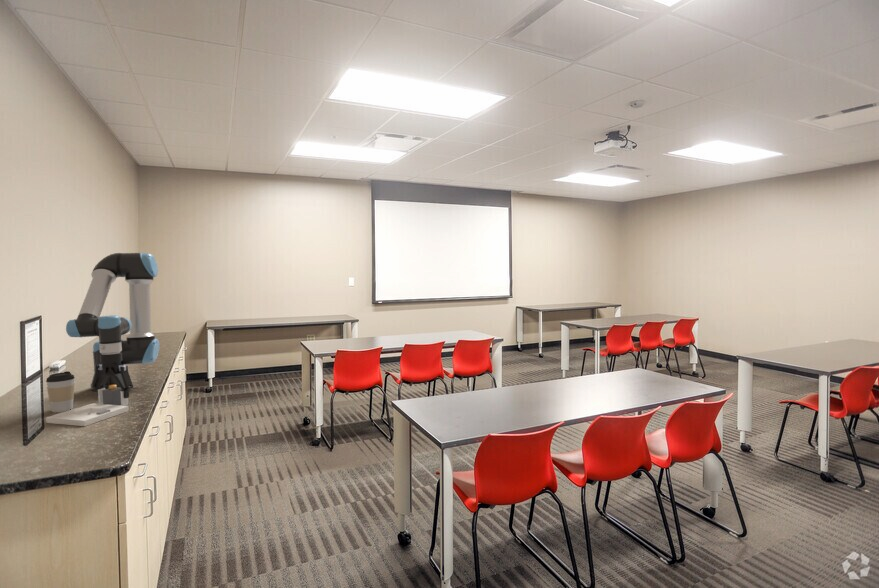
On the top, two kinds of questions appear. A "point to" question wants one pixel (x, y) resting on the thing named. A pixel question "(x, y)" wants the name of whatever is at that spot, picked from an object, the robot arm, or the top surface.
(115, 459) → the top surface
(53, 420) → the socket plate
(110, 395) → the plug
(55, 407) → the coffee cup
